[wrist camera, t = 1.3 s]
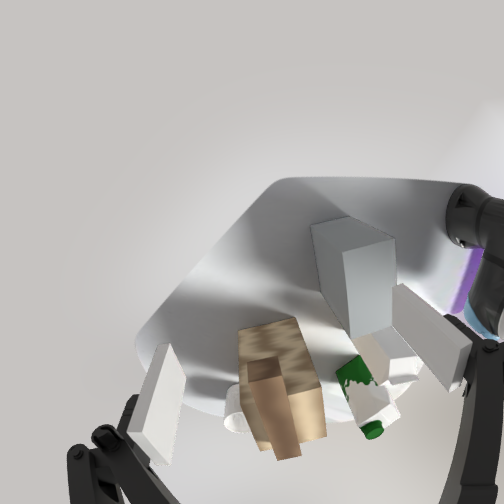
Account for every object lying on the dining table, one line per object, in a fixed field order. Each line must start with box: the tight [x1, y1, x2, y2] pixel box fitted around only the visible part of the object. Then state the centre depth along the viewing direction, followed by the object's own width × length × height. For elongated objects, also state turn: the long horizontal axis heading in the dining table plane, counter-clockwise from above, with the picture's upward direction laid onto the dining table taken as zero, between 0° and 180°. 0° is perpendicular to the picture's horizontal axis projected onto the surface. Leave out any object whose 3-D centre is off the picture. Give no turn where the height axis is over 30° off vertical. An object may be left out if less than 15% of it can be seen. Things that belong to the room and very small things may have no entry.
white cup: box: [224, 384, 251, 433], centre depth 57 cm, size 8×8×10 cm
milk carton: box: [336, 355, 401, 440], centre depth 53 cm, size 9×9×20 cm
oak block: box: [238, 317, 327, 451], centre depth 49 cm, size 12×14×21 cm
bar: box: [247, 355, 301, 461], centre depth 35 cm, size 4×20×4 cm, turn 13°
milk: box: [351, 326, 419, 386], centre depth 47 cm, size 6×6×22 cm
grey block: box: [310, 216, 397, 340], centre depth 45 cm, size 8×14×17 cm, turn 13°
